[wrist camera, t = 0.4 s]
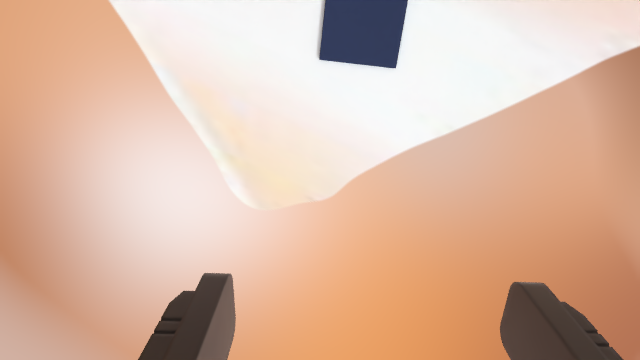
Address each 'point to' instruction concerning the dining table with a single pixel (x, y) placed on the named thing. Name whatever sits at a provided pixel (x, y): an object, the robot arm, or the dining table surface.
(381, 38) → the cloth
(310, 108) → the dining table surface
